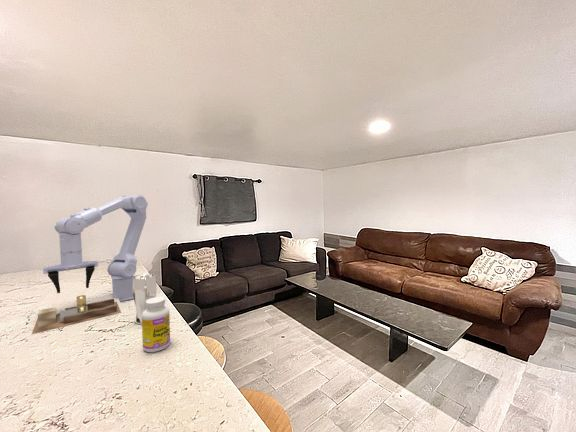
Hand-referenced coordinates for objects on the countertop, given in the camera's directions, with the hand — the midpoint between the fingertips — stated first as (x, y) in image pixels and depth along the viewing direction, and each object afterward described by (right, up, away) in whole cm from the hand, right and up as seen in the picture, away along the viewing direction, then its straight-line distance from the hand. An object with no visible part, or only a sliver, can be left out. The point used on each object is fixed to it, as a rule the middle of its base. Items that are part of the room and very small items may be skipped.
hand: (73, 289), depth 89 cm
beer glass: (+28, -9, -4) cm, 30 cm away
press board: (+5, -9, -3) cm, 11 cm away
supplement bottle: (+40, -10, -20) cm, 46 cm away
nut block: (-1, -8, -8) cm, 12 cm away
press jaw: (+4, -8, -4) cm, 9 cm away
